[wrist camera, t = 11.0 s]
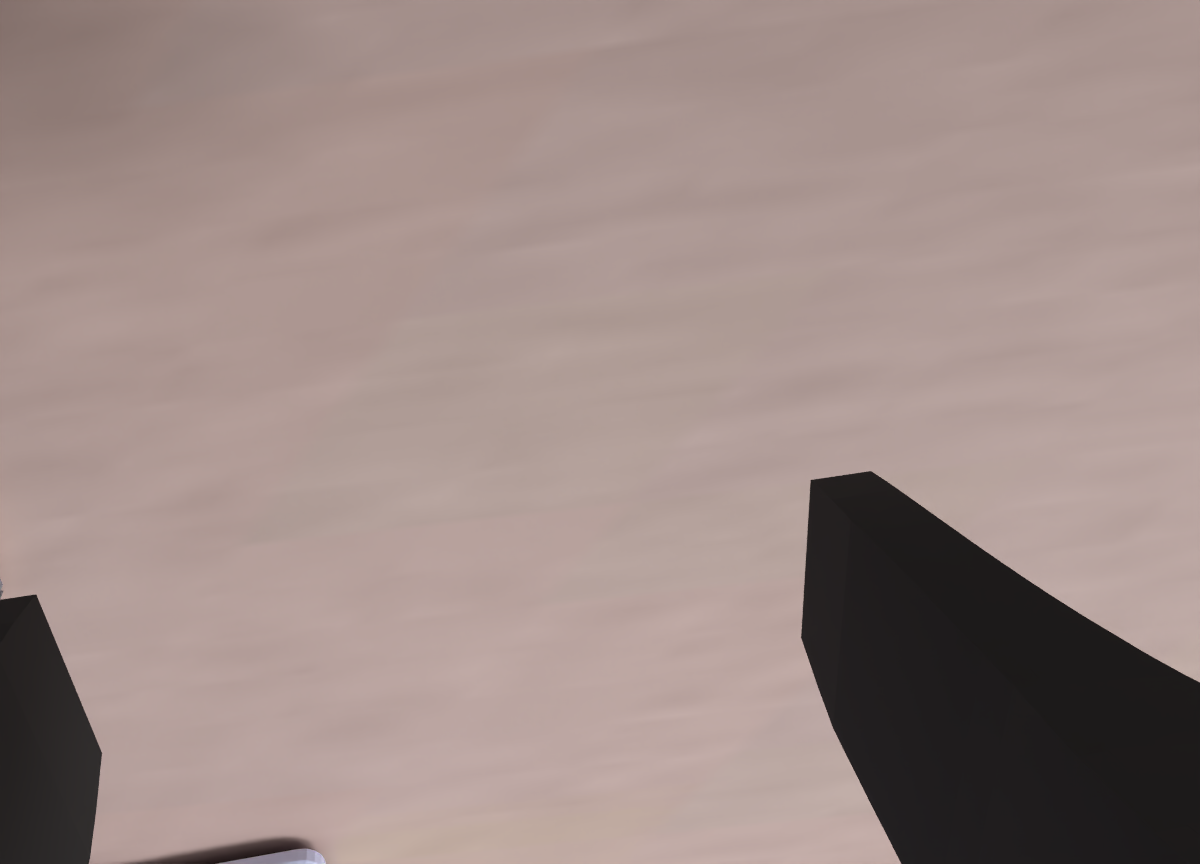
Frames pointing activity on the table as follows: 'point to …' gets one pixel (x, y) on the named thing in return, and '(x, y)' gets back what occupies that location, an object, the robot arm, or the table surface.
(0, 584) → the ring dish
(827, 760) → the table surface
